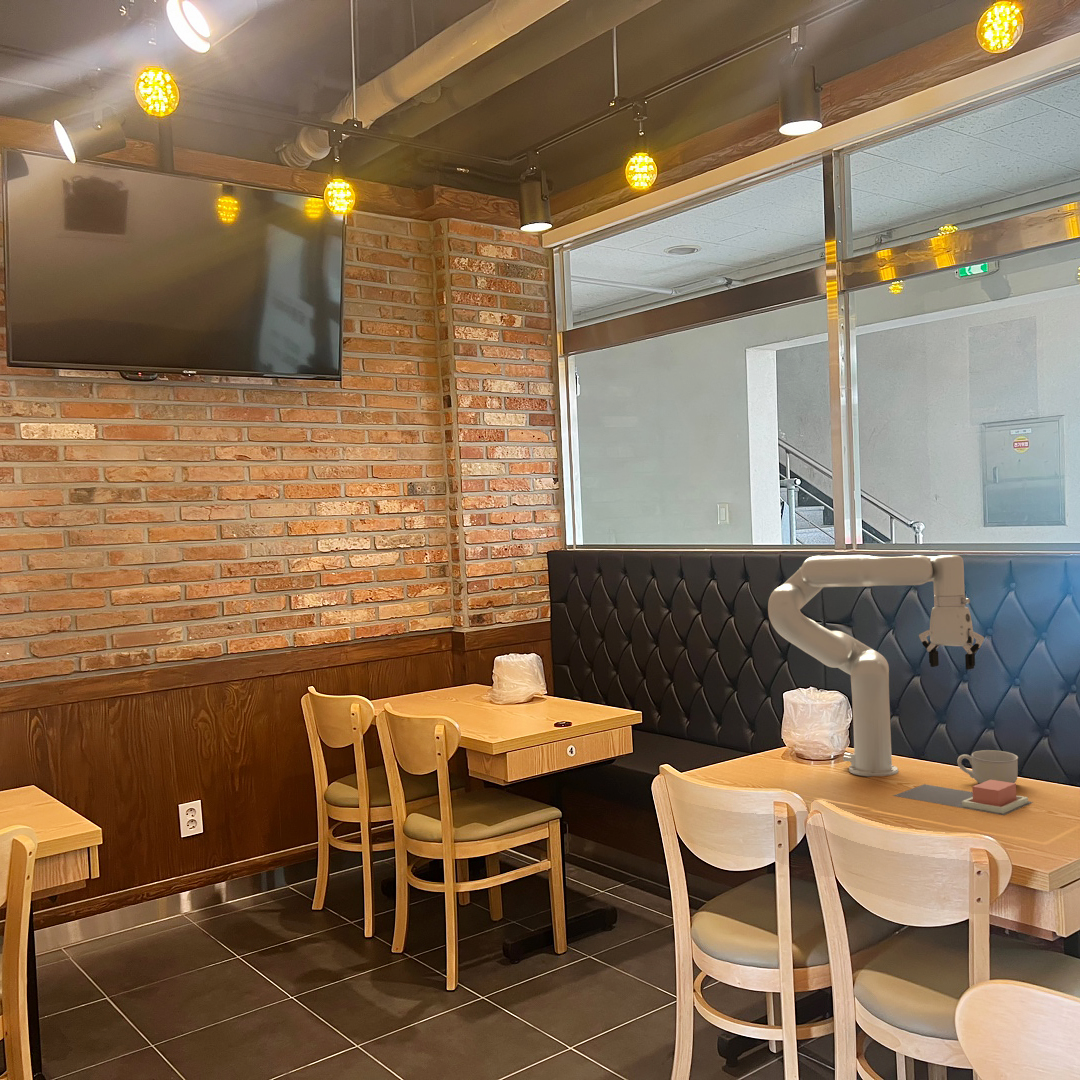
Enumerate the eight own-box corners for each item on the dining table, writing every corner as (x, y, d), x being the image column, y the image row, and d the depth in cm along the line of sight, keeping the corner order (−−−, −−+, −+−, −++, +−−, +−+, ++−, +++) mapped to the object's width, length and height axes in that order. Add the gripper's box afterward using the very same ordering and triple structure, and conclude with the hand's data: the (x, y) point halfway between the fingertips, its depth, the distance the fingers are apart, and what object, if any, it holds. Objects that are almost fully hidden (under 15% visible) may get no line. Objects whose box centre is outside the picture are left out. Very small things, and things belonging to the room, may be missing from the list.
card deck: (991, 798, 243) (990, 779, 243) (1016, 802, 239) (1015, 783, 239) (973, 806, 237) (972, 786, 237) (998, 810, 233) (998, 790, 233)
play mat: (893, 797, 249) (893, 795, 249) (924, 786, 259) (924, 784, 259) (1004, 817, 229) (1004, 815, 229) (1033, 804, 239) (1033, 802, 239)
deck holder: (962, 806, 237) (961, 801, 237) (987, 795, 246) (987, 790, 246) (1003, 813, 230) (1003, 808, 230) (1028, 802, 238) (1027, 797, 238)
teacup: (1022, 783, 258) (1021, 752, 258) (1015, 793, 249) (1014, 760, 249) (963, 778, 266) (962, 747, 266) (954, 787, 257) (953, 755, 257)
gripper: (988, 602, 265) (991, 668, 265) (925, 600, 278) (928, 664, 278) (975, 604, 260) (977, 671, 260) (911, 602, 273) (913, 667, 273)
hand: (952, 667), depth 269 cm, fingers open, 9 cm apart
